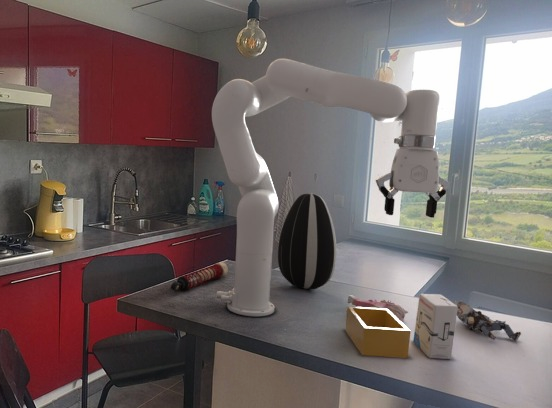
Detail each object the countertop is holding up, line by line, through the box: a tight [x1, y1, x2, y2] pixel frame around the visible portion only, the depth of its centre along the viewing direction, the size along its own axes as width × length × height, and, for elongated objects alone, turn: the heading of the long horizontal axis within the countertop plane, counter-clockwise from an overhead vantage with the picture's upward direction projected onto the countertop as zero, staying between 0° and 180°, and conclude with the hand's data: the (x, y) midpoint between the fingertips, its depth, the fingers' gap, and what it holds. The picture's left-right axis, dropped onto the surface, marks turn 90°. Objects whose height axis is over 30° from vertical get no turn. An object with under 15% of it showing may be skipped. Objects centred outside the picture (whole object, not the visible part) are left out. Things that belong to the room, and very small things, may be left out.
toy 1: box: [346, 294, 409, 323], centre depth 120 cm, size 8×6×15 cm
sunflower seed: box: [277, 192, 338, 290], centre depth 142 cm, size 19×10×30 cm, turn 58°
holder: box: [344, 306, 411, 359], centre depth 102 cm, size 10×14×6 cm
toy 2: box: [453, 299, 522, 342], centre depth 113 cm, size 7×11×15 cm
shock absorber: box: [170, 261, 229, 292], centre depth 142 cm, size 5×5×30 cm
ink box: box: [412, 293, 458, 360], centre depth 99 cm, size 9×5×12 cm, turn 178°
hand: (409, 215), depth 109 cm, fingers open, 9 cm apart
